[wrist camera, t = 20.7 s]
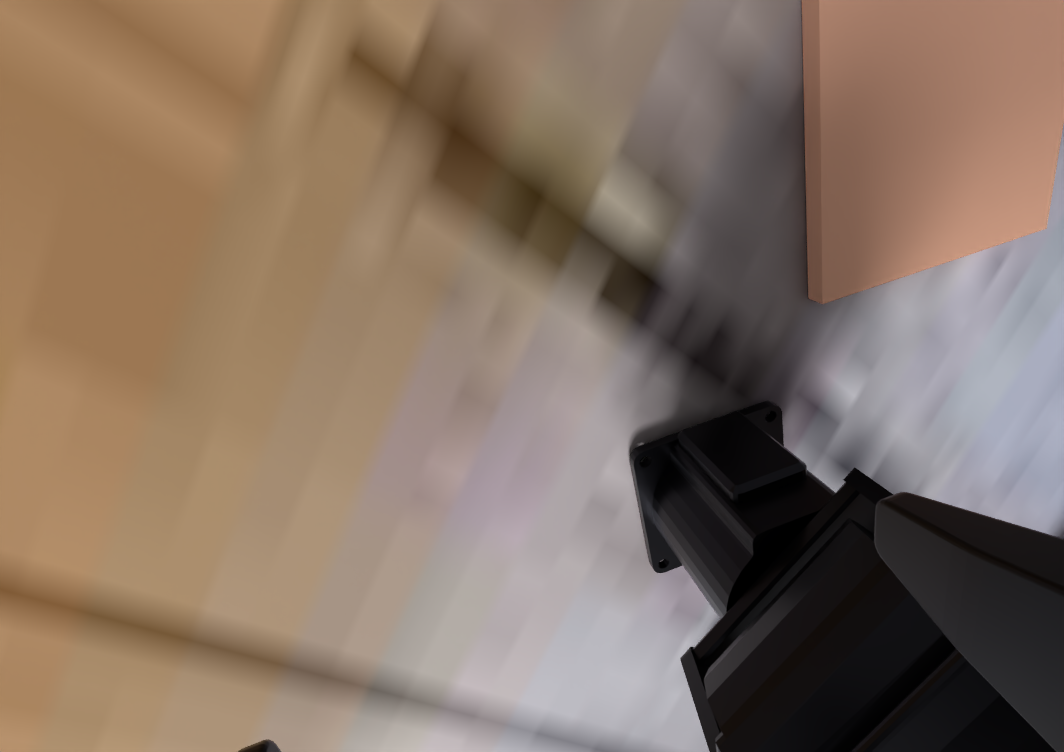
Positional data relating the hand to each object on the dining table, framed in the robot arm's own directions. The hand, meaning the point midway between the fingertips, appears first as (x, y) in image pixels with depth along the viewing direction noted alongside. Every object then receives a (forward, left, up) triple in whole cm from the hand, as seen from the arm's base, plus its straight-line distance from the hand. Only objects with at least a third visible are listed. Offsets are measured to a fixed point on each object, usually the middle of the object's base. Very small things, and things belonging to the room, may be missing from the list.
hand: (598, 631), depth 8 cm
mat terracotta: (+2, -18, -13) cm, 22 cm away
